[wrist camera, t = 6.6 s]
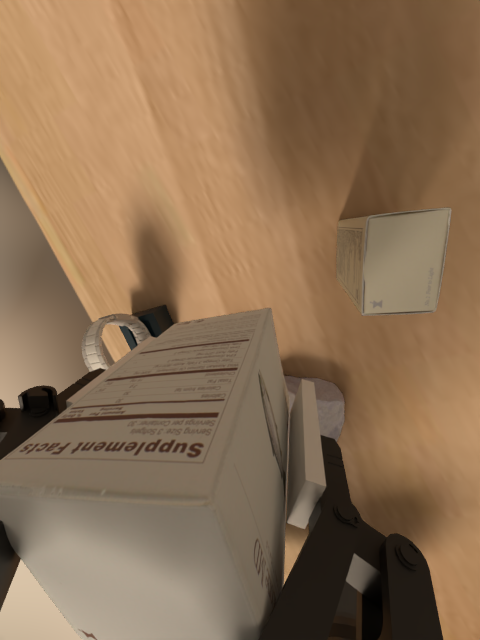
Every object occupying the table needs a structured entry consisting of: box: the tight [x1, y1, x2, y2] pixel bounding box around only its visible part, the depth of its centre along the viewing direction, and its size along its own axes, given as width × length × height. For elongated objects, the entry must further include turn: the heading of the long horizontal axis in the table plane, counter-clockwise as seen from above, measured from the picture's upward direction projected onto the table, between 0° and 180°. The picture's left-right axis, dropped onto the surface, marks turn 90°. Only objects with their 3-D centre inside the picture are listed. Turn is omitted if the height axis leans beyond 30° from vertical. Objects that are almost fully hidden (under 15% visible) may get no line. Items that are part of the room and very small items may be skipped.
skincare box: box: [336, 207, 451, 316], centre depth 20 cm, size 6×4×12 cm
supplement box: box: [0, 308, 290, 640], centre depth 12 cm, size 7×7×13 cm
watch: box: [82, 305, 174, 372], centre depth 29 cm, size 6×8×11 cm
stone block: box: [284, 376, 345, 455], centre depth 34 cm, size 12×5×10 cm
